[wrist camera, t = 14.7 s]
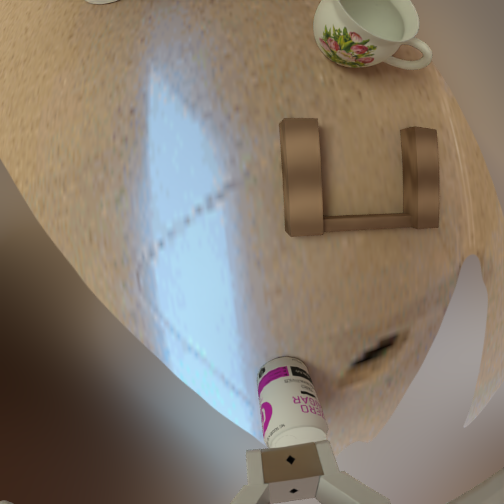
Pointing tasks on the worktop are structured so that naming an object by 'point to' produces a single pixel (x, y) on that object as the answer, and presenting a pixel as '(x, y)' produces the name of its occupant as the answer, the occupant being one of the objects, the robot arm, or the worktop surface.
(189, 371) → the worktop surface
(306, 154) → the holder
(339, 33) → the pitcher
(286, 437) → the supplement can
